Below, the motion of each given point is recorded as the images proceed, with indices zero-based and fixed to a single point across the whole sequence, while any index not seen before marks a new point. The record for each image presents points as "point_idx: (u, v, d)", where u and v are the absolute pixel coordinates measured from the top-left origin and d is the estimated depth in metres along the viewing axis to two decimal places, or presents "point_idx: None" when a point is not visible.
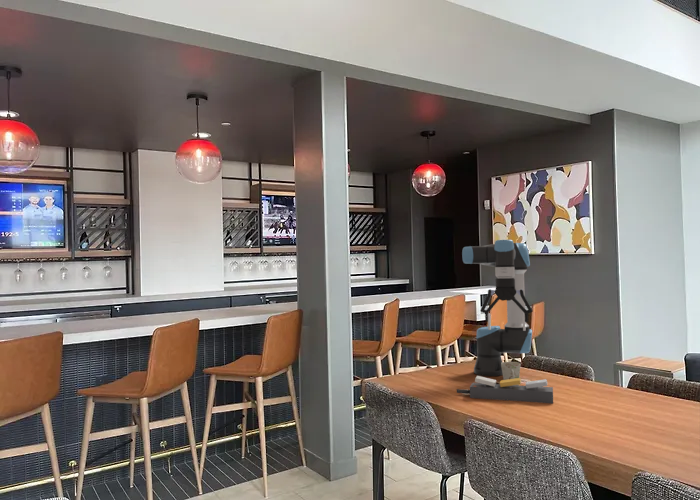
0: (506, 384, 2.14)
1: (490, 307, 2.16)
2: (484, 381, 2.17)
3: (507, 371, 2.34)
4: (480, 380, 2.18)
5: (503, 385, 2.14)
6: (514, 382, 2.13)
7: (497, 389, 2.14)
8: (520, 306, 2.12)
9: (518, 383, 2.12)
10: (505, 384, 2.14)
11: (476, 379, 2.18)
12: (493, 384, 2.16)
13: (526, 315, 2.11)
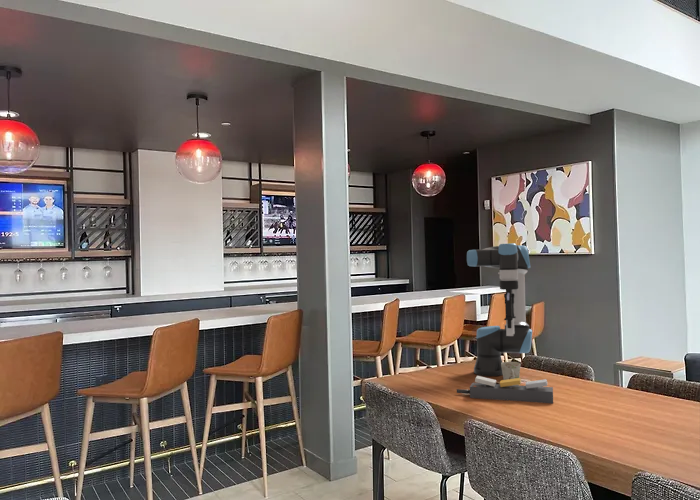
0: (506, 384, 2.14)
1: None
2: (484, 381, 2.17)
3: (507, 371, 2.34)
4: (480, 380, 2.18)
5: (503, 385, 2.14)
6: (514, 382, 2.13)
7: (497, 389, 2.14)
8: None
9: (518, 383, 2.12)
10: (505, 384, 2.14)
11: (476, 379, 2.18)
12: (493, 384, 2.16)
13: None
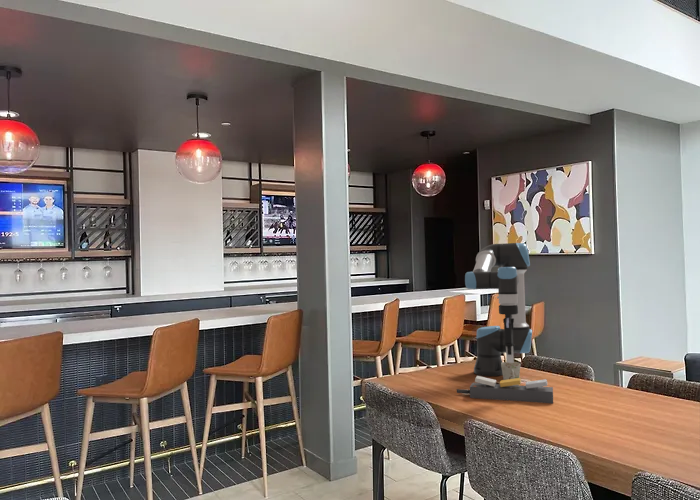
0: (506, 384, 2.14)
1: None
2: (484, 381, 2.17)
3: (507, 371, 2.34)
4: (480, 380, 2.18)
5: (503, 385, 2.14)
6: (514, 382, 2.13)
7: (497, 389, 2.14)
8: None
9: (518, 383, 2.12)
10: (505, 384, 2.14)
11: (476, 379, 2.18)
12: (493, 384, 2.16)
13: None
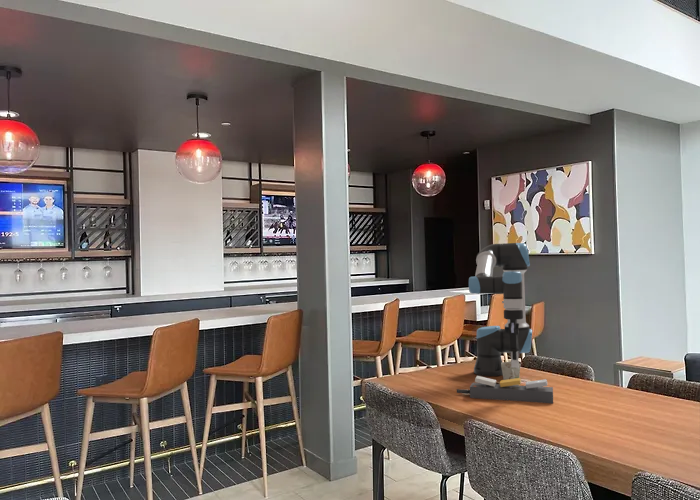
0: (506, 384, 2.14)
1: None
2: (484, 381, 2.17)
3: (507, 371, 2.34)
4: (480, 380, 2.18)
5: (503, 385, 2.14)
6: (514, 382, 2.13)
7: (497, 389, 2.14)
8: None
9: (518, 383, 2.12)
10: (505, 384, 2.14)
11: (476, 379, 2.18)
12: (493, 384, 2.16)
13: None
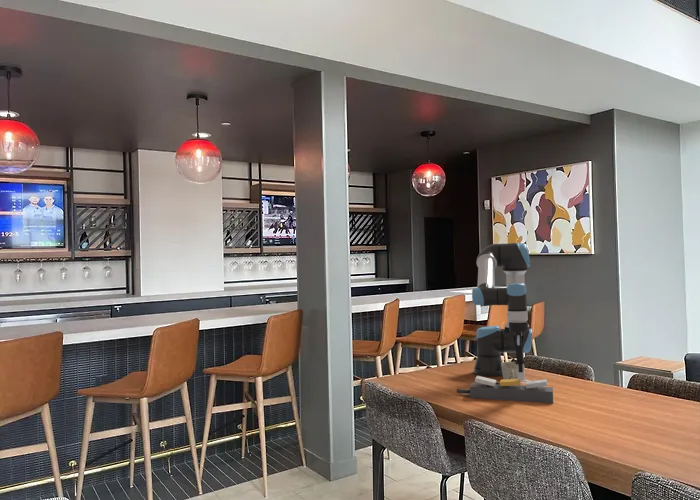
0: (506, 384, 2.14)
1: None
2: (484, 381, 2.17)
3: (507, 371, 2.34)
4: (480, 380, 2.18)
5: (503, 384, 2.14)
6: (514, 382, 2.13)
7: (497, 389, 2.14)
8: None
9: (518, 384, 2.12)
10: (505, 384, 2.14)
11: (476, 379, 2.18)
12: (493, 384, 2.16)
13: (518, 365, 2.13)
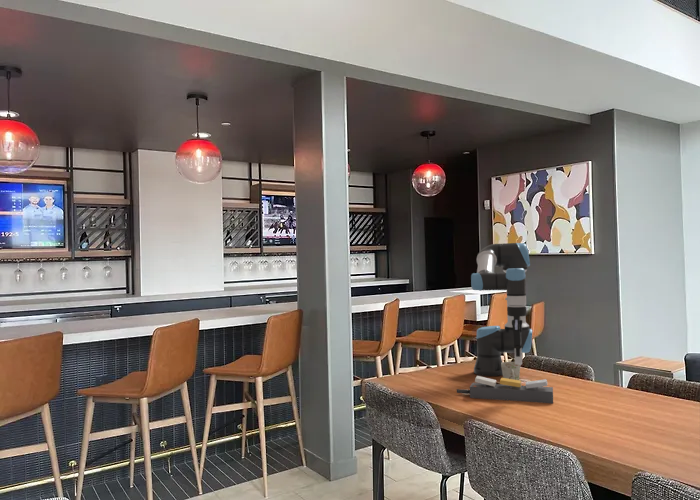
0: (506, 383, 2.14)
1: None
2: (484, 381, 2.17)
3: (507, 371, 2.34)
4: (480, 380, 2.18)
5: (503, 383, 2.14)
6: (514, 383, 2.13)
7: (497, 389, 2.14)
8: None
9: (518, 385, 2.12)
10: (505, 383, 2.14)
11: (476, 379, 2.18)
12: (493, 384, 2.16)
13: (516, 349, 2.14)
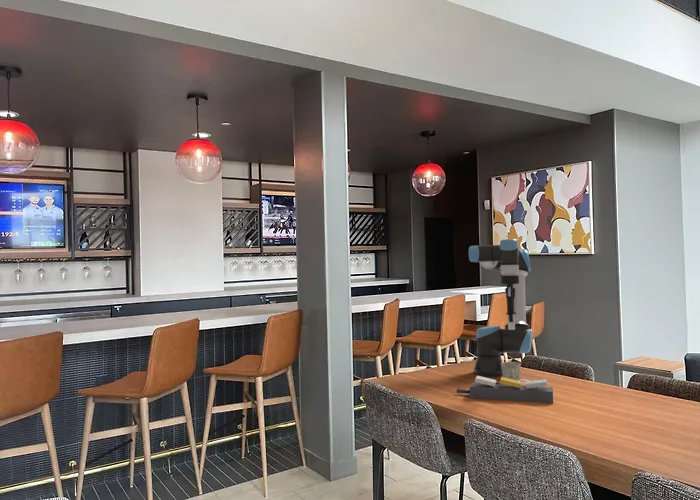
0: (506, 383, 2.14)
1: None
2: (484, 381, 2.17)
3: (507, 371, 2.34)
4: (480, 380, 2.18)
5: (503, 383, 2.14)
6: (515, 384, 2.13)
7: (497, 389, 2.14)
8: None
9: (518, 386, 2.12)
10: (505, 382, 2.14)
11: (476, 379, 2.18)
12: (493, 384, 2.16)
13: (509, 315, 2.27)
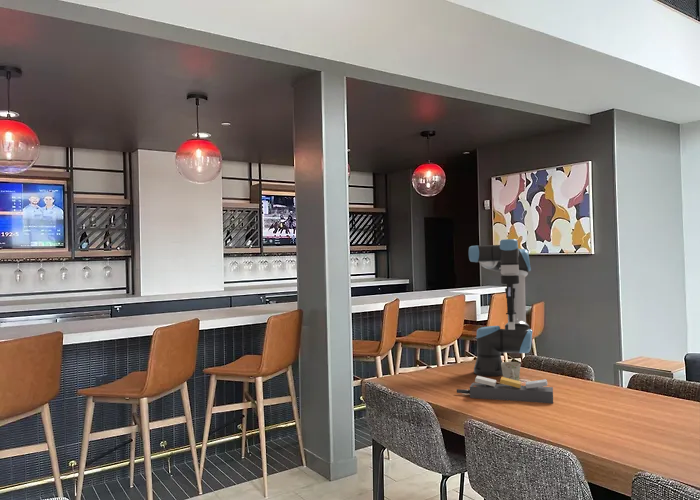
0: (506, 383, 2.14)
1: None
2: (484, 381, 2.17)
3: (507, 371, 2.34)
4: (480, 380, 2.18)
5: (503, 382, 2.14)
6: (515, 384, 2.13)
7: (497, 389, 2.14)
8: None
9: (518, 386, 2.12)
10: (505, 382, 2.14)
11: (476, 379, 2.18)
12: (493, 384, 2.16)
13: (509, 315, 2.27)
